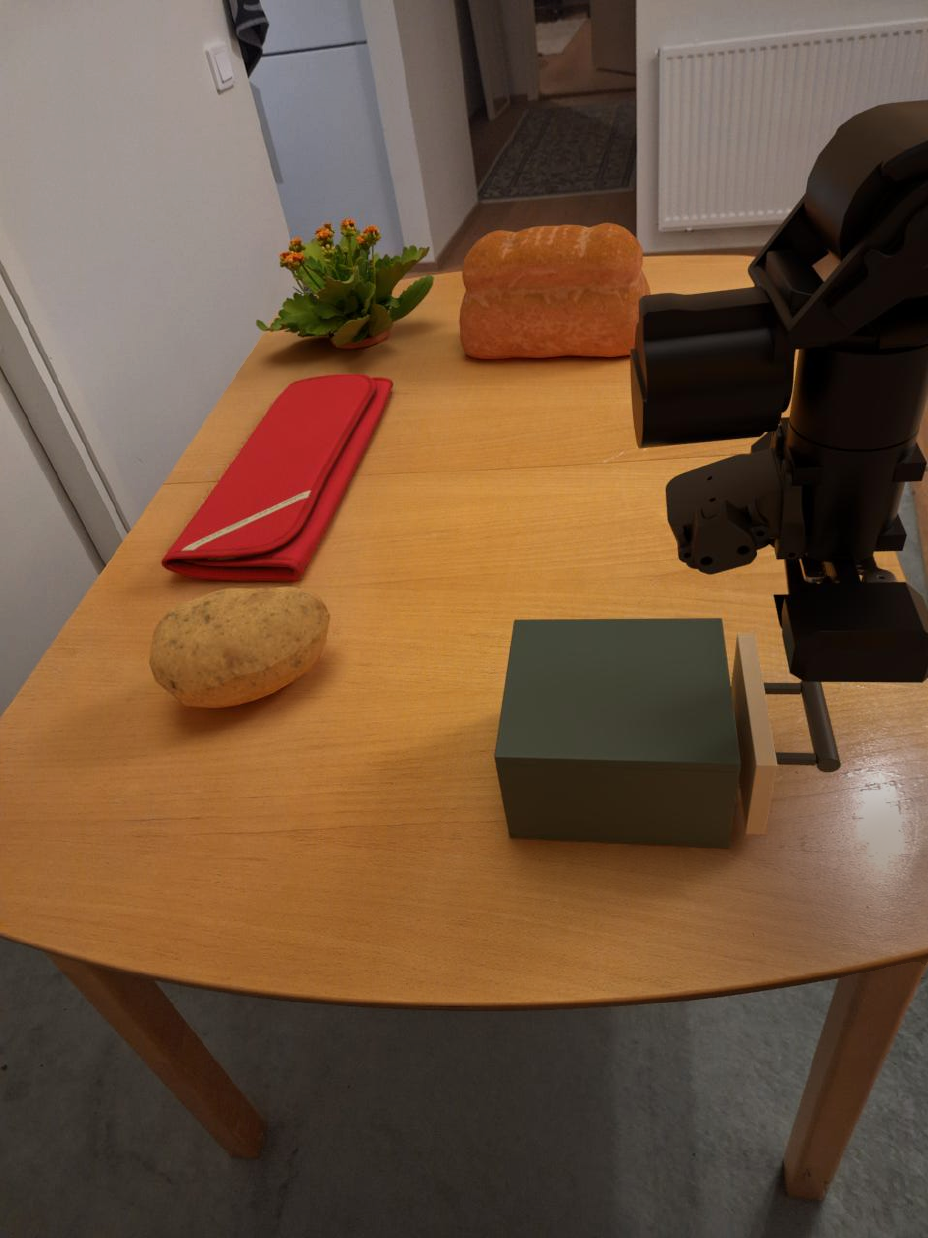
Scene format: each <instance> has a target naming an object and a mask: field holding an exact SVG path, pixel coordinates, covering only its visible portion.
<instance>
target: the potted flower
mask: <svg viewBox="0 0 928 1238" xmlns="http://www.w3.org/2000/svg"><path fill="white" fill-rule="evenodd" d="M356 223H357V222H356V221H355V220H354V219H352V218H351V219H350V218H345V219H344V220H342V221H341V222H340V223H339V224H340V229H339V230H340V231H339V232H340V234H341V235H342V236H341V238H340V241H339V242H338V243H339V244H338V243H336V245H335V240H334V236H335V233H336V230H335V229H334V228H333V227H332V222H323V223H321V225H319V227H318V229H316V230H315V232H314V235H315V237H313V238H312V239H310V242H302V238H300V237H295V238H291V239H290V241H289V244H288V251H286V250H285V251H283V252H281V253H280V254H279V255H278V257H279V260H280V261H279V267H280V268H286V269H287V270H289V271H290V272H291V274H292V277H293V278H294V280H295V282H296V284H297V285H298V287H299V288H300V289H298V288H296V287H295V286H292V288H293V289H294V290H295V291H296V292H295V291H294V292H293V294H292V298H290V297H286V299H285V301H283V303H282V304H281V307H282V309H280V310H278V312H277V313H278V316H279V317H275V319H273V322H271V323H270V326H269V327H268V326H267V325H266V324H265V323H264V322H263V321H262V320H260V319H256V321H255V326H257V328H258V329H259V330H261V331H262V332H267V331H269V332H271V333H273V332H279V331H284V333H292V334H297V336H298V337H300V338H312V337H313V338H314V337H322V336H325V337H327V336H328V337H329V340H330V343H332V346H334V347H336V348H337V349H345V350H347V349H348V350H356V349H362V348H367V347H371V346H374V345H376V344H379V343H381V342H382V341H384V340H386V339H387V338H388V337H389V336H390V335H391V332H392V327H393V326H394V325H393V324H394V322H397V321H400V320H401V319H403V318H405V317H407V316H408V315H409V314H411V313H412V312H413V311H414V310H415V309H416V308H417V307H418V306H419V305H420V304H421V303H422V302H423V300H424V299H425V298H426V297H427V296H428V294H429V293H430V291H431V289H432V288H433V286H434V281H435V277H434V276H433V275H431V274H428V275H426V276H422V277H420V278H418V280H414V282H413V283H412V284H410V285H408V286H407V287H406V289H404V290H403V291H402V292H401V294H399V296H398V297H394V296H393V291H394V289H395V288H396V286H397V285H398V283H399V282H400V281H401V280H402V279H403V278H404V277H405V276H406V275H407V274H408V272H409V271H410V270H412V269H413V268H414V267H415V266H416V265H417V264H418V263H420V262H421V261H422V260H423V259H425V257H427V256H428V255H429V251H430V249H431V248H430V246H427V247H422V246H420V247H419V248H418V249H417V246H416V245H413V244H411V245H409V247H407V246H406V245H405V246H404V247H403V249H402V253H401V256H400V254H399V255H398V254H396V255H394V256H393V257H392V259H391V257H390V255H389V254H388V253H385V254H384V255H383V257H382V258H381V257H380V254H379V252H378V251H377V252H375V251H374V250H375V249H374V248H375V246H377V242H379V241H380V240H381V239H382V235H380V234H381V232H380V229H379V227H378V226H376V225H375V224H371V225H369V226H366V227H364V230H363V232H361V230H360V229H357V226H356ZM322 225H323V226H322ZM370 254H371V261H370V259H369V258H370ZM369 265H370V266H369ZM300 282H301V283H302V284H303V285H304V286H305V287H307V288H308V290H305V289H304V287H303V285H302V284H301V283H300ZM300 290H301V291H300Z"/></svg>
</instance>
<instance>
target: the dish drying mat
mask: <svg viewBox="0 0 928 1238" xmlns="http://www.w3.org/2000/svg"><path fill="white" fill-rule="evenodd" d="M393 388H394V382H393V380H392V379H391V378H387V377H383V376H381V377H380V376H378V377H377V376H375V377H371V376H369V375H366V374H363V373H339V374H336V373H335V374H326V375H319V376H313V377H308V378H303V379H300V380H296V381H293V382H291V383H290V384H288V385H287V386H286V387H285V389H283V391H282V392H281V393H280V394H279V395H278V396H277V397H276V398H275V399H274V401H273V402H272V403H271V405H270V407H269V408H268V409H267V411H266V413H265V414H264V416H263V417H262V418H261V420H260V421H259V423H258V424H257V426H256V427H255V428H254V430H253V431H252V433H250V435H249V437H248V438H247V440H246V441H245V443H244V444H243V445H242V447H241V448H240V450H239V452H238V453H237V455H236V456H235V457H234V459H233V460H232V462H231V463H230V464H229V466H228V467H227V468H226V470H225V471H224V473H223V475H221V477H220V479H219V480H218V481H217V483H216V484H215V486H214V487H213V488H212V490H211V491H210V493H209V494H208V495H207V497H206V499H205V500H204V501H203V503H202V504H201V506H200V507H199V508H198V509H197V511H196V512H195V513H194V515H193V516H192V518H191V519H190V520H189V522H188V523H187V524H186V526H185V527H184V529H183V530H182V531H181V532H180V534H179V536H178V537H177V538H176V540H175V541H174V542H173V543H172V545H171V547H170V548H169V549H168V550H167V552H166V554H165V555H164V556H163V558H162V559H161V560H160V564H161V565H162V567H163V568H165V569H166V570H168V571H170V572H172V573H173V574H178V575H182V576H183V577H184V576H185V577H189V578H193V579H200V580H208V581H209V580H210V581H243V582H244V581H250V582H251V581H253V582H254V581H255V582H256V581H257V582H258V581H259V582H260V581H261V582H288V583H289V582H292V583H293V582H296V581H298V580H299V579H300V578H301V576H302V575H303V573H304V572H305V570H306V568H307V566H308V564H309V563H310V560H311V558H312V557H313V555H314V553H315V552H316V550H317V548H318V546H319V544H320V542H321V540H322V539H323V536H325V533H326V531H327V529H328V527H329V525H330V523H331V522H332V519H333V517H334V515H335V513H336V511H337V509H338V507H339V505H340V504H341V501H342V499H343V497H344V495H345V493H346V491H347V489H348V486H349V484H350V482H351V479H352V477H353V475H354V473H355V472H356V470H357V467H358V466H359V463H360V462H361V460H362V457H363V455H364V453H365V451H366V450H367V447H368V445H369V443H370V441H371V440H372V436H373V435H374V432H375V430H376V427H377V426H378V424H379V422H380V420H381V417H382V416H383V413H384V410H385V407H386V405H387V402H388V400H389V397H390V395H391V392H392V389H393Z"/></svg>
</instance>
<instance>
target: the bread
mask: <svg viewBox="0 0 928 1238" xmlns="http://www.w3.org/2000/svg"><path fill="white" fill-rule="evenodd" d="M643 263H644V254H643V247H642V245H641V243H640V241H639V239H638V238H637V237H636V236H635V235H634V234H632V232H631V231H630V230H629V229H627V228H625V227H623V226H622V225H619V224H616V223H611V222H602V223H601V224H597V225H593V226H585V225H579V224H561V225H539V226H538V225H537V226H533V227H528V228H524V229H521V230H519V231H517V232H516V231H509V230H504V229H500V230H499V229H498V230H494V231H490V232H489V233H487V234H484V236H482V237H480V238H479V239H478V240H477V241H476V242H475V243H474V245H472V246H471V248H470V249H469V251H468V252H467V254H466V256H465V257H464V259H463V264H462V282H463V286H464V289H465V291H464V294H463V298H462V301H461V304H460V309H459V319H458V324H459V339H460V343H461V347H462V349H463V350H464V352H465V354H466V355H467V356H469V357H471V358H473V359H481V360H482V359H483V360H503V359H511V358H527V359H528V358H533V359H534V358H535V359H536V358H537V359H539V358H540V359H541V358H542V359H543V358H544V359H545V358H554V357H565V356H569V357H571V356H573V357H574V356H575V357H606V358H607V357H608V358H613V357H623V356H630V349H634V348H635V332H636V326H637V323H638V322H639V300H640V299H641V298H642V297H643V296H644V295H652V294H651V287H650V285H649V282H648V280H647V277H646V276H645V274H644V271H643V270H642V267H643Z"/></svg>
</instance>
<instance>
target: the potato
mask: <svg viewBox="0 0 928 1238" xmlns="http://www.w3.org/2000/svg"><path fill="white" fill-rule="evenodd" d="M330 621H331V614H330V612H329V610H328V608H327V606H326V604H325V602H324V600H323V599H322V597H321V596H320V595H319V594H318V593H316V592H315V591H313V590H312V589H306V588H301V587H296V586H295V587H294V586H276V587H275V586H274V587H259V588H258V587H257V588H247V587H246V588H245V587H244V588H242V587H227V588H223V589H219V590H215V591H212V592H209V593H208V594H205V595H202V596H200V597H198V598H196V599H191V600H189V601H185V602H182V603H180V604H178V605H176V606H174V607H172V608H170V609H168V611H166V613H165V614H164V615H163V616H162V618H161V619H160V620H159V621H158V623H157V625H156V627H155V629H154V630H153V635H152V640H151V643H150V649H149V650H150V652H149V660H148V664H149V667H150V671H151V673H152V676H153V679H154V682H155V683H157V684H158V685H159V686H160V687H161V688H162V689H164V690H165V691H166V692H167V693H168V694H169V695H170V696H172V697H173V698H175V699H176V700H177V701H178V702H179V703H180V704H181V705H183V706H184V707H195V708H209V709H211V708H213V709H222V708H229V707H235V706H239V705H243V704H246V703H250V702H253V701H257V700H259V699H262V698H264V697H268V696H269V695H272V694H274V693H276V692H277V691H279V690H281V689H282V688H284V687H286V686H287V685H289V684H291V683H292V682H294V681H295V680H296V679H298V678H300V677H301V676H302V675H304V674H305V673H306V672H308V671H309V670H310V669H311V668H312V667H313V666H314V664H316V662H317V661H318V660H319V659H320V656H321V654H322V652H323V650H324V648H325V645H326V642H327V638H328V633H329V626H330Z"/></svg>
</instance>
